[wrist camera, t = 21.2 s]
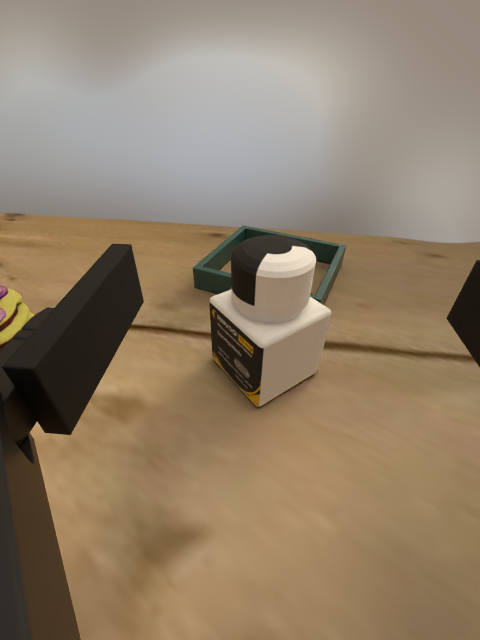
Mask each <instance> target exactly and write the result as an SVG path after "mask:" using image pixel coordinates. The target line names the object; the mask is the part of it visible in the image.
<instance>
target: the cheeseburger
mask: <svg viewBox="0 0 480 640" xmlns="http://www.w3.org/2000/svg"><path fill="white" fill-rule="evenodd" d="M21 299H22V297H21V295H20V294H18V293H16V292H15V291H14V290H12V289H8V288H7V287H4V286H1V285H0V350H1V349H2V348H3V347H4V346H5V344H6V343H7V342H8V341H9V340H10V339H13V336H14V335H15V334H16V333H17V332H18V331H19V330H21V329H22V327H23V326H24V325H25V324H26V323H27V321H28V320H29V319H30V318H31V317H33V316H34V314H33V313H30V312H29V309H28V307H27V306H26V305H25V304H23V303H22V301H21Z"/></svg>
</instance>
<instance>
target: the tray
mask: <svg viewBox="0 0 480 640" xmlns="http://www.w3.org/2000/svg"><path fill="white" fill-rule="evenodd" d="M263 235H279V236H285V237H289V238H292V239H295V240H297V241H300V242H302V243H304V244H305V245H307V246H308V247H309V248H310V249H311V250H312V252H313V253H314V255H315V257H316V260H317V261H321V262H326V263H331V265H330V267H329V269H328V271H327V273H326V275H325V277H324V279H323V281H322V283H321V285H320V287H319V289H318V291H317V293H316V295H315V294H311V293H310V297H312V298H313V299H315V300H316V301H318V302H319V303H321V304H322V305H324V303H325V301H326V299H327V296H328V294H329V292H330V290H331V287H332V285H333V283H334V280H335V278H336V276H337V274H338V271H339V269H340V267H341V264H342V261H343V257H344V253H345V249H346V245H342V244H336V243H331V242H326V241H321V240H316V239H310V238H305V237H300V236H295V235H289V234H284V233H279V232H274V231H269V230H263V229H258V228H253V227H247V226H242V227H241V228H239V229H238V230H237V231H236V232H235V233H233V234H232V235H231V236H230V237H229V238H228V239H226V240H225V241H224V242H223V243H222V244H220V245H219V246H218V247H217V248H216V249H215V250H213V251H212V252H211V253H210V254H209V255H208V256H206V257H205V258H204V259H203V260H202V261H200V262H199V263H198V264H197V265H196V266H195V267H193V274H194V285H195V287H196V288H199V289H203V290H206V291H210V292H214V293H217V294H221V293H223V292H226V291H229V290H231V274H230V273H226V272H222V271H219V270H220V269H221V268H222V267H223V266H224V265H225V264H226V263H227V262H228V261H229V260H230V259H231V254H232V251H233V250H234V249H235V247H236V246H237V245H238V244H239V243H241V242H242V241H244V240H247V239H250V238H253V237H258V236H263Z"/></svg>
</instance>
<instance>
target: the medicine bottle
mask: <svg viewBox="0 0 480 640" xmlns="http://www.w3.org/2000/svg"><path fill="white" fill-rule="evenodd" d="M315 265H316V257H315V255H314V253H313V252H312V250H311V249H310V248H309V247H308V246H307V245H305V244H304V243H302V242H300V241H297V240H295V239H292V238H289V237H285V236H279V235H263V236H258V237H253V238H250V239H247V240H244V241H242V242H241V243H239V244H238V245H237V246H236V247H235V249H234V250H233V251H232V254H231V290H229V291H226V292H223V293H221V294H218V295H215V296H213V297H211V298H210V301H209V302H210V320H211V337H212V355H213V359H214V360H215V361H216V362H217V363H218V365H219V366H220V367H221V368H222V369H223V370H224V371H225V372H226V373H227V375H228V376H229V377H230V378H231V379H232V380H233V381H234V382H235V383H236V385H237V386H238V387H239V388H240V389H241V390H242V391H243V392H244V393H245V395H246V396H247V397H248V398H249V399H250V400H251V401H252V402H253V403H254V404H255V406H257V407H260V406H262V405H264V404H265V403H267V402H268V401H270V400H272V399H273V398H275V397H277V396H278V395H280V394H282V393H283V392H285V391H287V390H288V389H290V388H291V387H293V386H295V385H296V384H298V383H300V382H301V381H303V380H305V379H306V378H308V377H309V376H311V375H313V374H314V373H316V372H317V371H318V367H319V363H320V359H321V355H322V351H323V347H324V342H325V338H326V334H327V330H328V326H329V321H330V317H331V310H330V309H329V308H327V307H325V306H324V305H322V304H321V303H319V302H318V301H316V300H315V299H313V298H312V297H310V293H311V287H312V281H313V276H314V270H315Z"/></svg>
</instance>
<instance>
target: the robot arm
mask: <svg viewBox="0 0 480 640" xmlns="http://www.w3.org/2000/svg"><path fill="white" fill-rule="evenodd" d="M143 302H144V301H143V296H142V292H141V287H140V283H139V278H138V273H137V269H136V264H135V260H134V255H133V251H132V246H131V245H129V244H112V245H111V246H110V247H109V248H108V249H107V250H106V251H105V252H104V254H103V255H102V256H101V257H100V258H99V259H98V260H97V261H96V262H95V264H94V265H93V266H92V267H91V268H90V269H89V270H88V271H87V272H86V274H85V275H84V276H83V277H82V278H81V279H80V280H79V281H78V282H77V283H76V285H75V286H74V287H73V288H72V289H71V290H70V291H69V292H68V293H67V295H66V296H65V297H64V298H63V299H62V300H61V301H60V302H59V303H58V305H57V306H56V307H55V308H46V309H44V310H42V311H41V312H39V313H37V314H36V315H34V316H33V317H31V318H30V319H29V320H28V321H27V323H26V324H25V325H24V326H23V327H22V329H21V330H19V331H18V332H17V333H16V334H15V335H14V336H13V339H10V340H9V341H8V342H7V343H6V344H5V346H4V347H3V348H2V349H1V350H0V640H81V639H80V634H79V630H78V626H77V622H76V617H75V613H74V609H73V605H72V600H71V596H70V592H69V587H68V583H67V579H66V575H65V570H64V566H63V562H62V558H61V553H60V549H59V545H58V540H57V536H56V532H55V528H54V523H53V519H52V515H51V511H50V506H49V502H48V498H47V493H46V489H45V485H44V481H43V476H42V472H41V468H40V464H39V459H38V455H37V451H36V446H35V442H34V439H33V437H32V435H31V434H30V431H31V429H32V428H33V426H34V425H35V423H36V422H37V421H38V423H39V424H40V426H41V427H42V429H43V430H44V432H45V433H54V434H66V435H71V433H72V431H73V430H74V428H75V426H76V424H77V422H78V421H79V419H80V417H81V415H82V413H83V411H84V410H85V408H86V406H87V404H88V402H89V400H90V399H91V397H92V395H93V393H94V391H95V390H96V388H97V386H98V384H99V382H100V380H101V379H102V377H103V375H104V373H105V371H106V369H107V368H108V366H109V364H110V362H111V360H112V359H113V357H114V355H115V353H116V351H117V349H118V348H119V346H120V344H121V342H122V340H123V338H124V337H125V335H126V333H127V331H128V329H129V328H130V326H131V324H132V322H133V320H134V318H135V317H136V315H137V313H138V311H139V309H140V307H141V306H142V304H143ZM447 320H448V321H449V323H450V324H451V326H452V327H453V329H454V330H455V332H456V333H457V334H458V336H459V337H460V339H461V340H462V342H463V343H464V345H465V346H466V348H467V349H468V351H469V352H470V354H471V355H472V357H473V358H474V359H475V361H476V362H477V364H478V365H479V367H480V260H477V261H476V263H475V265H474V267H473V269H472V270H471V272H470V274H469V276H468V278H467V280H466V282H465V284H464V286H463V288H462V290H461V292H460V293H459V295H458V297H457V299H456V301H455V303H454V305H453V307H452V309H451V311H450V313H449V315H448V316H447Z"/></svg>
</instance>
